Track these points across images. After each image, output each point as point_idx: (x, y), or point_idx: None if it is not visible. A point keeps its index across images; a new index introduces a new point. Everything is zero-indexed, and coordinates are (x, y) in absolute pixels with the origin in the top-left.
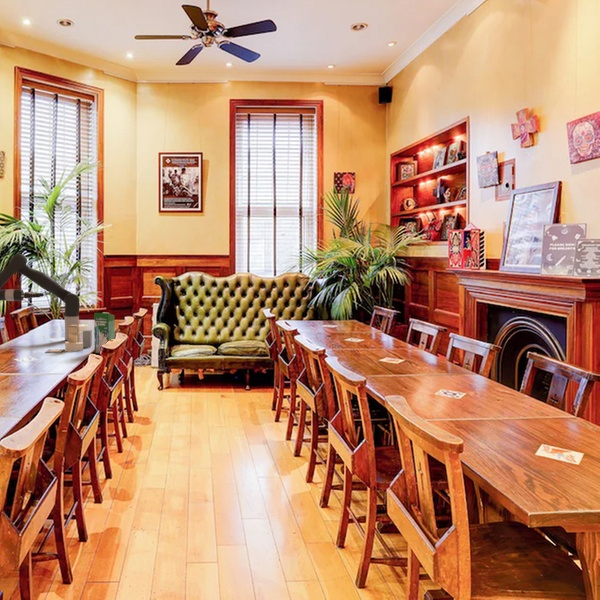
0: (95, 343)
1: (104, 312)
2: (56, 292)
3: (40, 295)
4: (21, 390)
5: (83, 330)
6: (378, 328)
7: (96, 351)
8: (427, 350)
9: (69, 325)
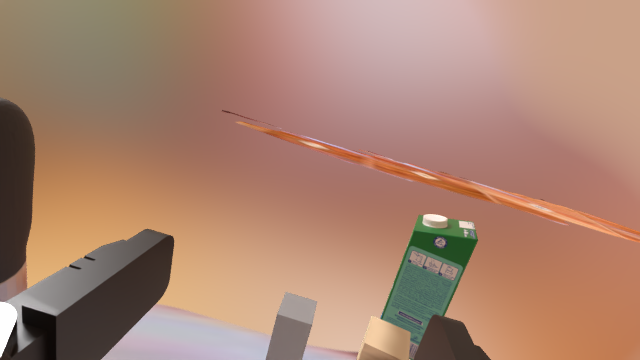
0: None
1: (447, 220)
2: None
3: (130, 310)
4: None
5: (294, 319)
6: (248, 118)
7: None
8: (377, 154)
9: (394, 356)
